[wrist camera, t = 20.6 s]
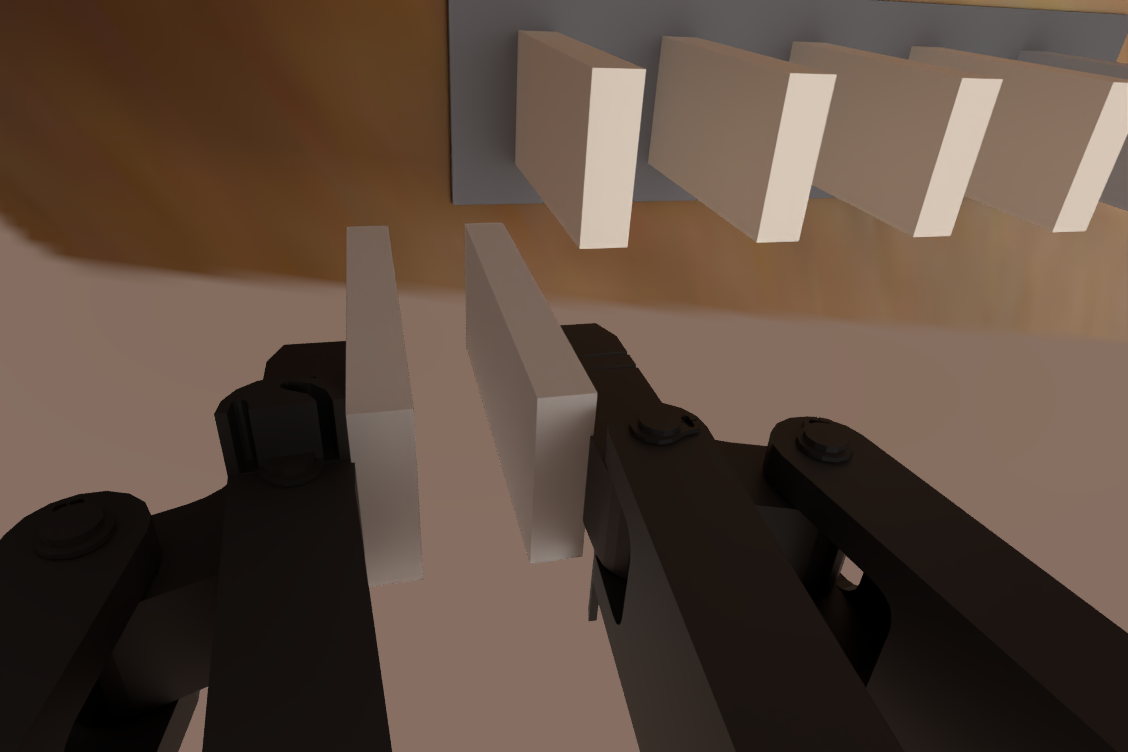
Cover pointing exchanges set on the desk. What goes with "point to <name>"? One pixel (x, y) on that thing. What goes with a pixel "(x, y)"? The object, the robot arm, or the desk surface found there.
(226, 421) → the robot arm
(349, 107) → the desk surface
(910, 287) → the desk surface
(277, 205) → the desk surface
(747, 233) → the domino
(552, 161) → the domino
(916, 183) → the domino
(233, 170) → the desk surface
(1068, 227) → the domino
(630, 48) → the runway mat
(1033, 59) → the slate domino
